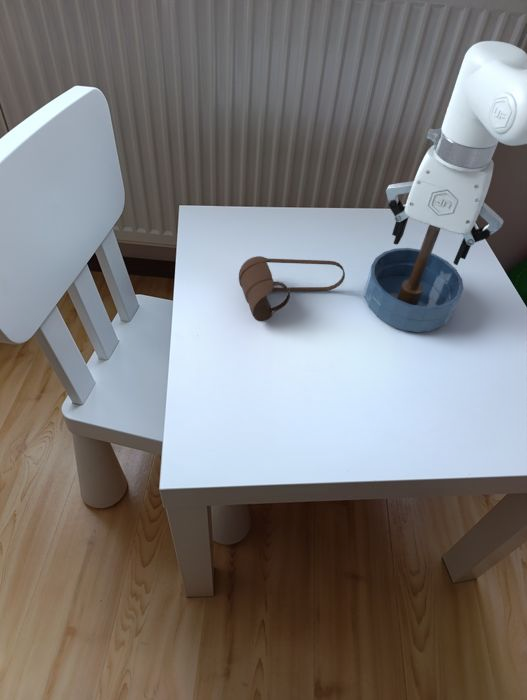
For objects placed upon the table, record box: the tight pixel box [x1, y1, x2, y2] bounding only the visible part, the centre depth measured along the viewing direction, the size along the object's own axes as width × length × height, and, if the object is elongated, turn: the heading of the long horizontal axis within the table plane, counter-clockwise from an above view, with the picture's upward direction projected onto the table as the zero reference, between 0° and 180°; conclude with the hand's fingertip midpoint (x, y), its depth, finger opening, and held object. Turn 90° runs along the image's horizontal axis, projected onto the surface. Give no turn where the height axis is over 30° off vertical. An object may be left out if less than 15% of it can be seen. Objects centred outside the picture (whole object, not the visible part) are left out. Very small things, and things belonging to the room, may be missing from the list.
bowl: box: [364, 247, 464, 333], centre depth 91 cm, size 15×15×6 cm
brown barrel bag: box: [238, 255, 346, 322], centre depth 90 cm, size 18×12×7 cm, turn 104°
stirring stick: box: [398, 224, 441, 305], centre depth 87 cm, size 4×4×15 cm
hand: (427, 249), depth 85 cm, fingers open, 9 cm apart
